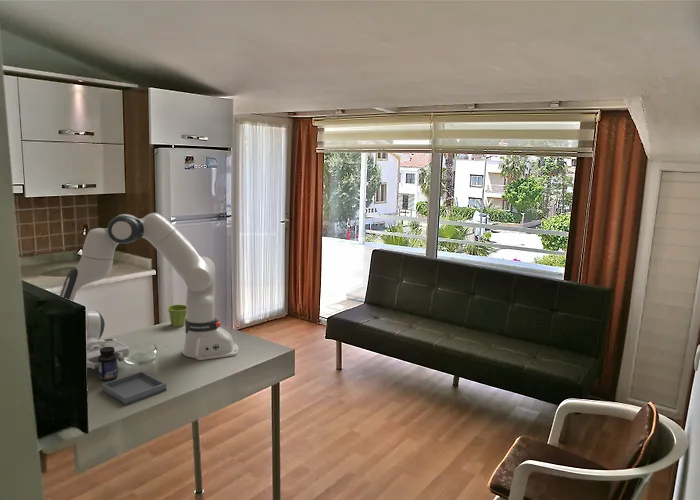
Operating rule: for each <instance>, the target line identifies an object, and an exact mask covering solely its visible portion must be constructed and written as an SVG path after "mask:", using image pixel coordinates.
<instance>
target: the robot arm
mask: <svg viewBox="0 0 700 500" xmlns="http://www.w3.org/2000/svg"><path fill="white" fill-rule="evenodd" d="M141 238H142V239H144V240H146V241H147V242H149V243H150V245H152V246H153V248H155V249H156V251H157V252H159V253H160V254H161V255H162V256H163V258H165V259H166V260H167V262H169V263H170V265H171V266H172V267H173V269H174V271H176V273H177V275H178V276H179V277H180V279H182V280H183V282H184V283H185V285H186V287H187V288H186V303H185V305H186V319H185V325H184V332H185V339H184V340H185V341H184V345H183V347H182V348H183V349H182V351H181V352H182V354H183V355H184V356H186V357H188V358H192V359H195V360H198V361H206V360H212V359H219V358H226V357H234V356H237V355H238V353H239V346H238V344H237V343H236V342H234V340H233V337H232V335H231V333H230V332H228V331H227V330H226V329H224V328H222V327H221V325H222V324H221V321H220V319H219V317H215V298H216V297H215V295H216V266H215V262H213V260H212V259H211V258H209V257H207V256H200V254H199V253H198V251H197V250H196V249H195V247H194V246H193V245H192V243H191V242H190V241H189V240H188V238H186V237H185V235H184V234H182V233H181V232H180V230H179V229H178V228H177V227H175V226H174V224H173V223H172V222H171V221H169V219H167V218H165V217H164V216H163V215H161V214H159V213H158V212H151V213H148V214H147V215H145V216H143V217H142V218H139V217H137V216H136V215H134V214H130V213H123V214H119V215H117V216H115V217H113V218H112V219H111V220H110V221H109V222H108V225H107V227H106V228H103V227H96V228H92V229H90V230H89V231H88V232H87V235H86V236H85V240H84V243H83V247H82V252H81V256H80V260H79V262H78V264H77V265H76V266H75V267H74V268H73V269H70V270H69V272H68V274H67V275H66V278H65V280H64V283H63V285H62V289H61V291H60V294H59V296H62V297H64V298H67V299H69V300H72V301H73V302H74V300H75V298H76V297H75V296H76V294H77V292H79V291H78V290H80V289H81V288H82V287H84V286H86V285H88V284H89V285H90V284H91V283H95V282H98V281H100V280H103V279H104V278H106V277H107V276H108V275H109V274H110V272H112V268H113V263H114V257H115V251H116V248H117V246H118V245H119V244H122V245H123V244H124V245H126V244H130V243H133V242H135V241H136V240H139V239H141ZM85 311H86V330H87V368H88V369H90V368H91V369H94V370H95V369H97V368H98V357H99V356H100V355H101V354H100V349H101V348H103V347H114V350H115V352H114V353H115V354H116V355H117V362H121V363H122V362H124V361H125V358H128V357H129V356H130V347H129V346H128V345H127V344H125V343H123V342H121V341H118V340H117V339H116V338H103V339H102V338H101V337H103V333H104V331H105V325H106V323H105V319H104V318H103V315H102V314H101V313H100V312H99V311H97V310H85Z"/></svg>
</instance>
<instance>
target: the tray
mask: <svg viewBox="0 0 700 500" xmlns="http://www.w3.org/2000/svg"><path fill="white" fill-rule="evenodd" d="M165 391H167V382H165V381H162V380H161V379H159V378H157V377H155V376H153V375H152V374H149V373H147V372H146V371H143V370H140V371H138V372H134V373H132V374H128V375H126V376H122V377H119V378H115V379H113V380H110V381H105V382H103V383H101V392H103V393H105V395H108V396H109V397H110V398H112V399H115V401H118V402H119V403H120V404H122V405H123V406H127V405H130V404H132V403H135V402H138V401H141V400H143V399H144V400H145V399H146V398H149V397H151V396H154V395H157V394H160V393H163V392H165Z"/></svg>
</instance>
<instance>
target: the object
mask: <svg viewBox="0 0 700 500" xmlns="http://www.w3.org/2000/svg"><path fill="white" fill-rule="evenodd" d="M167 310H168V314H169V318H170V319H169V320H170V326H172V327H175V328H180V327H183V326H184V327H185V320H186V304H173V305H169V306H167Z"/></svg>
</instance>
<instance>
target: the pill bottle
mask: <svg viewBox="0 0 700 500" xmlns="http://www.w3.org/2000/svg"><path fill="white" fill-rule="evenodd" d="M114 352H115V350H114V347H103V348H101V349H100V354H101V355H100V356H99V357H98V365H97V368H98V378H99V380H100V381H104V382H109V381H112V380H115V379H118V375H119V374H118V373H119V372H118V359H117V355H116V354H115V353H114Z"/></svg>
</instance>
